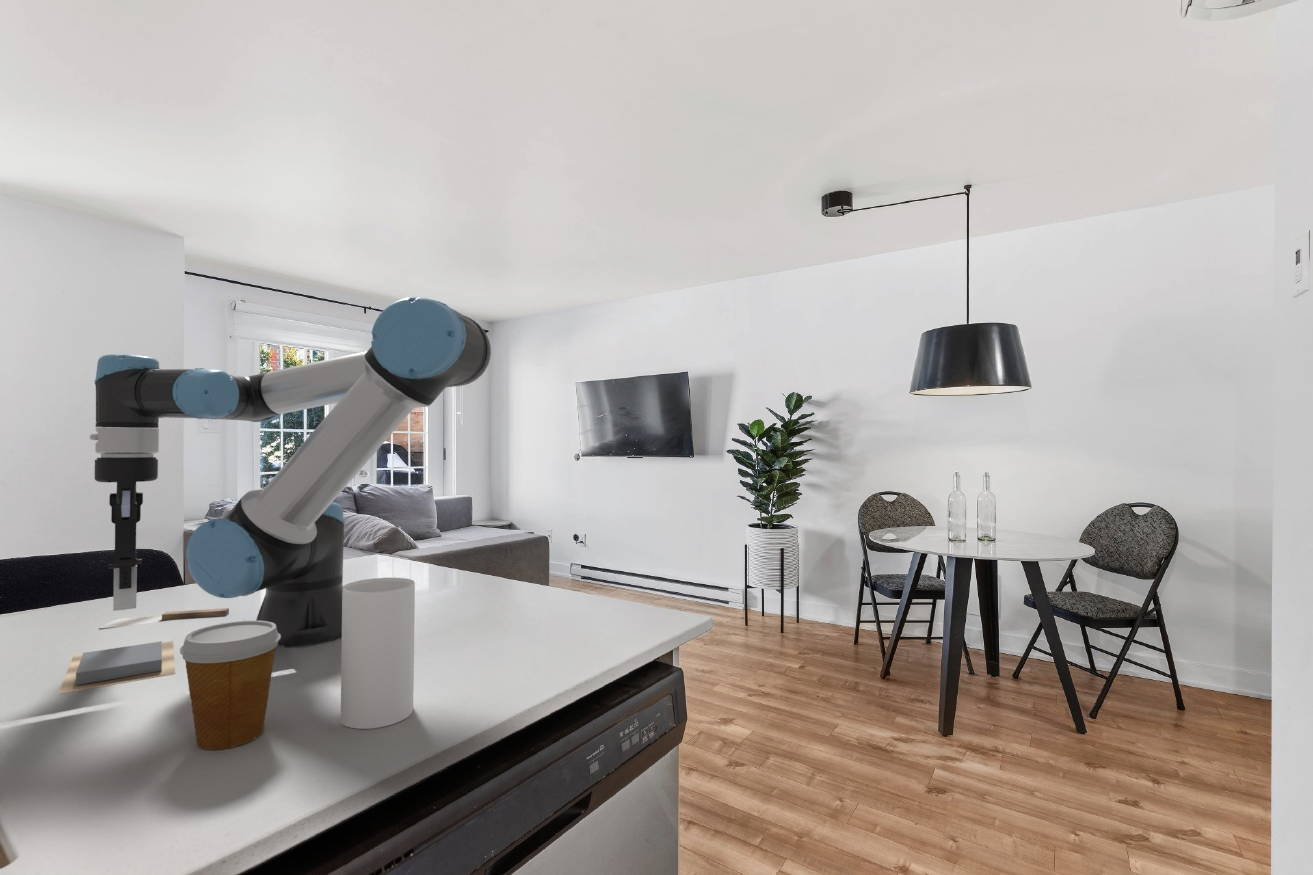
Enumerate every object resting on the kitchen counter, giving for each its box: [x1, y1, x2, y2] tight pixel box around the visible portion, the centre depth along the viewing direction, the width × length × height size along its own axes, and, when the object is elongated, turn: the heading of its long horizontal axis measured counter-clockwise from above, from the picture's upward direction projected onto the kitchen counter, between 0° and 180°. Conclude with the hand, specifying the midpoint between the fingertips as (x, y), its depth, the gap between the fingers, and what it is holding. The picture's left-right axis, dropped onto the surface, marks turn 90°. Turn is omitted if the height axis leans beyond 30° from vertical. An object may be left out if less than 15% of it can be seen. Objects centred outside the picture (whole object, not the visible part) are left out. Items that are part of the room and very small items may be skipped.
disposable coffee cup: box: [179, 620, 281, 751], centre depth 72 cm, size 10×10×12 cm
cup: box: [340, 577, 416, 730], centre depth 78 cm, size 8×8×16 cm
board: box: [58, 640, 176, 695], centre depth 93 cm, size 18×12×1 cm, turn 38°
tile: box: [76, 641, 163, 685], centre depth 91 cm, size 2×9×10 cm
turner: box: [98, 607, 230, 631], centre depth 117 cm, size 18×6×2 cm, turn 108°
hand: (124, 608), depth 98 cm, fingers closed
